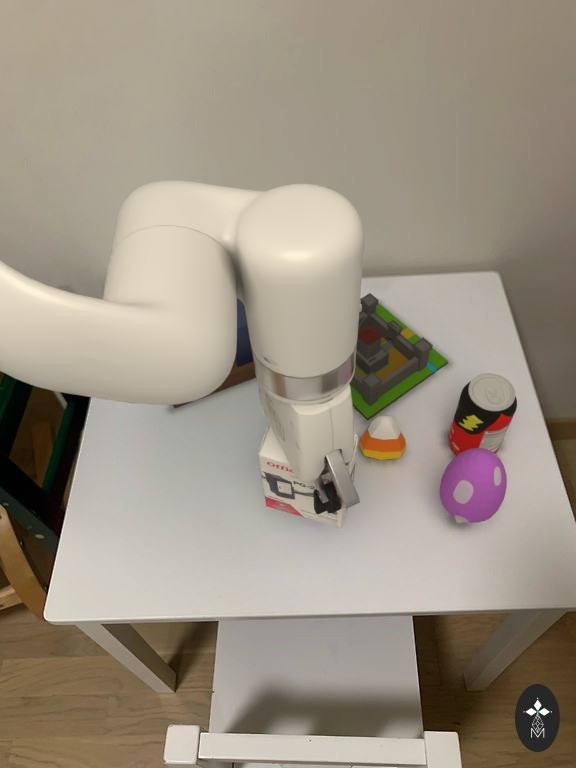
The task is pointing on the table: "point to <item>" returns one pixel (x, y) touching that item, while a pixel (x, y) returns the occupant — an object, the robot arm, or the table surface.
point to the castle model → (388, 359)
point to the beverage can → (483, 414)
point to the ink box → (294, 483)
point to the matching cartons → (242, 337)
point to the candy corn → (383, 439)
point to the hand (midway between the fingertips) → (309, 462)
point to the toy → (473, 485)
